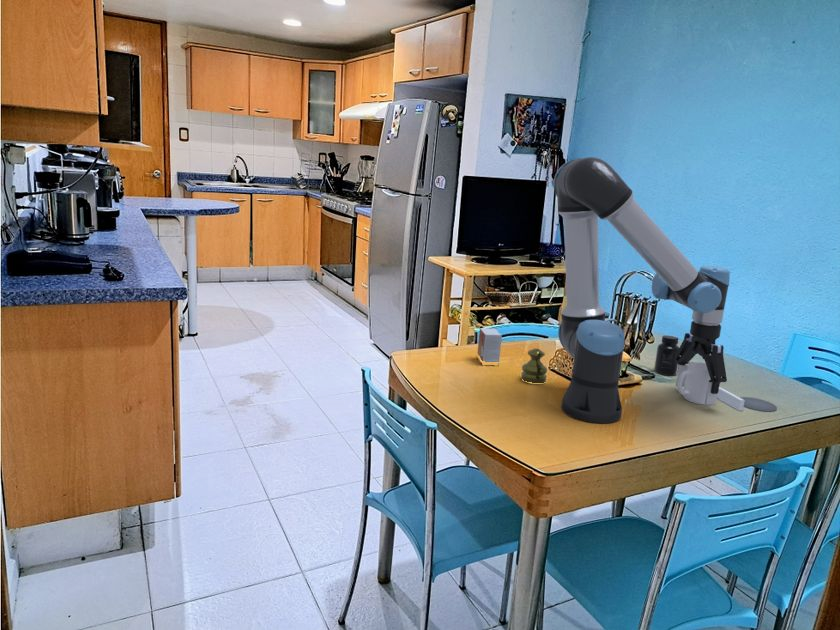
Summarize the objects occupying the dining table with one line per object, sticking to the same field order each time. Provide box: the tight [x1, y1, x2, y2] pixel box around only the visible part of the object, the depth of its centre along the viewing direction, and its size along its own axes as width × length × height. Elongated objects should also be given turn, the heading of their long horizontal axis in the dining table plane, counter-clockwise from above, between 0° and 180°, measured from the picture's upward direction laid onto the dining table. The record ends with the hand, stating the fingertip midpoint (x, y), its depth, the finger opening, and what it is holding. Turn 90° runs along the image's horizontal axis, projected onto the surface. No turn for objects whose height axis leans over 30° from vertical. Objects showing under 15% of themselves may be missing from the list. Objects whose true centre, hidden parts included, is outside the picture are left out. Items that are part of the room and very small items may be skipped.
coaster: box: [739, 396, 778, 413], centre depth 166 cm, size 10×10×1 cm
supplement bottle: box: [653, 335, 680, 377], centre depth 189 cm, size 7×7×12 cm
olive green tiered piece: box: [520, 348, 548, 384], centre depth 174 cm, size 7×7×10 cm
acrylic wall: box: [716, 386, 745, 412], centre depth 167 cm, size 1×14×3 cm, turn 10°
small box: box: [477, 327, 503, 363], centre depth 189 cm, size 8×6×10 cm
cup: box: [677, 361, 712, 406], centre depth 166 cm, size 8×12×10 cm
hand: (694, 394), depth 166 cm, fingers open, 13 cm apart
